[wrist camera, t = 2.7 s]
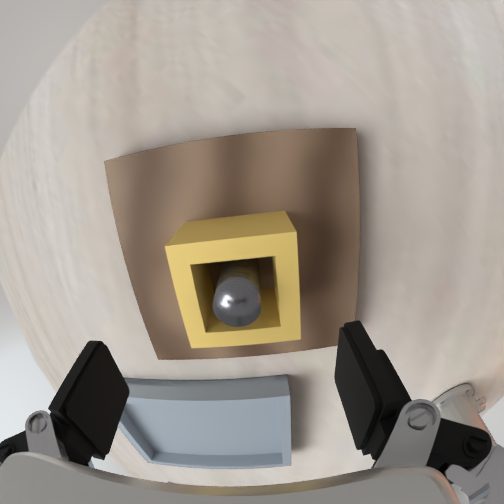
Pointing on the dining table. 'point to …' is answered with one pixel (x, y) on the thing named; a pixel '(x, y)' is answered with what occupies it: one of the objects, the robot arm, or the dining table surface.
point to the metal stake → (238, 292)
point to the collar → (235, 248)
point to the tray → (210, 422)
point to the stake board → (244, 203)
